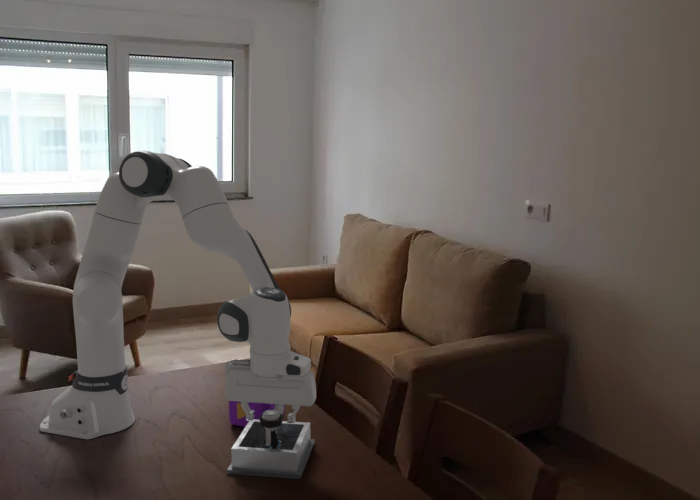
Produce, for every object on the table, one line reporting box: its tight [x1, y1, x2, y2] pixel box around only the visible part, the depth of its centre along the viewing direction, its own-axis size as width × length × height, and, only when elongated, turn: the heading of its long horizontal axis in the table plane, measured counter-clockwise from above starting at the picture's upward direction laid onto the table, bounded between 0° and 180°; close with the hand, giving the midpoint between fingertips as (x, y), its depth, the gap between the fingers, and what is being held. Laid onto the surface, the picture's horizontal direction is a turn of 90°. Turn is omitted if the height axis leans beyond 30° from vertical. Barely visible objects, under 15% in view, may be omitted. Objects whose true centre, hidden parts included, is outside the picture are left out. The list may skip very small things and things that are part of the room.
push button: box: [259, 410, 284, 449], centre depth 156 cm, size 7×5×10 cm
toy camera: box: [228, 401, 286, 428], centre depth 174 cm, size 11×14×10 cm
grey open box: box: [226, 419, 315, 480], centre depth 156 cm, size 16×17×6 cm
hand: (270, 420), depth 155 cm, fingers open, 8 cm apart
